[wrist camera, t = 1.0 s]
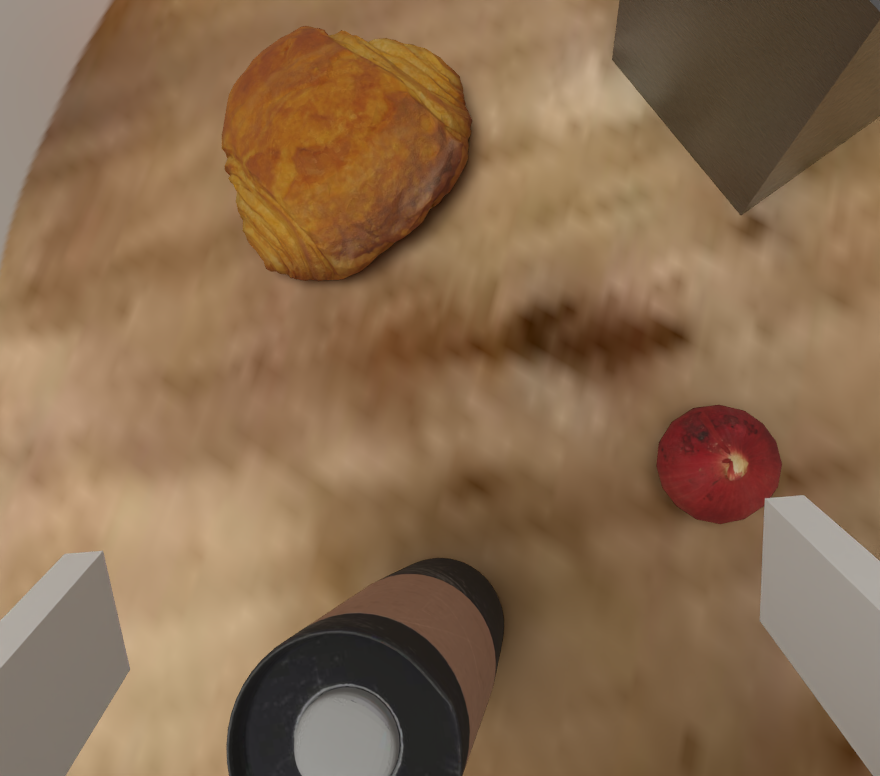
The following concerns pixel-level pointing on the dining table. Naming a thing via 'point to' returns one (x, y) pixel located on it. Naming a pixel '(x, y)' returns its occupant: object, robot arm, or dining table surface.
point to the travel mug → (376, 682)
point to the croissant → (341, 148)
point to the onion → (718, 463)
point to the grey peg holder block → (754, 81)
